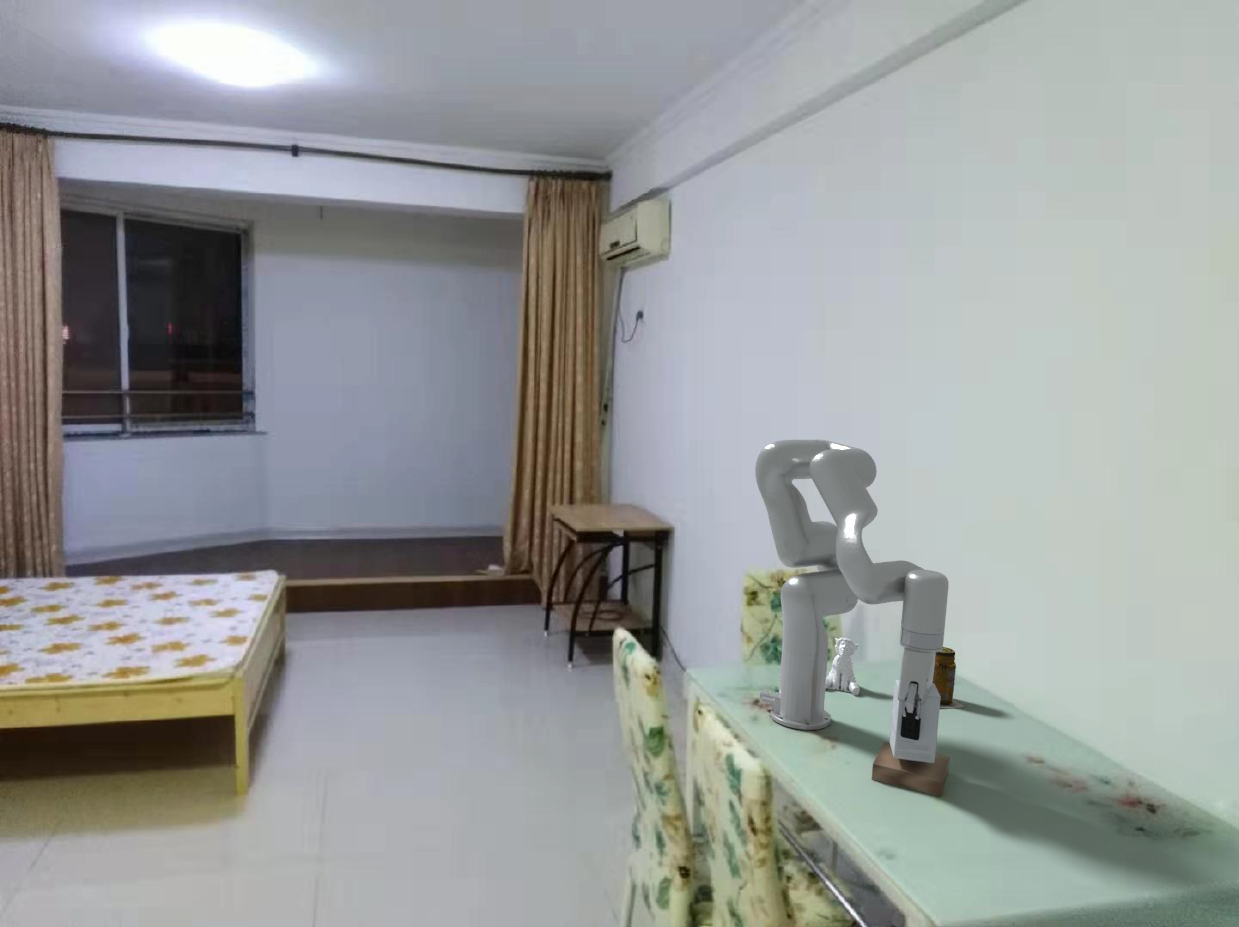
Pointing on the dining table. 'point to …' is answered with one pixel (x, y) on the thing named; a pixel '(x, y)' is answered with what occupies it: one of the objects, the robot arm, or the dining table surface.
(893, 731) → the supplement box
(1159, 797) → the dining table surface
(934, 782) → the walnut base
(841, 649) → the sitting furry creature
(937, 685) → the condiment
